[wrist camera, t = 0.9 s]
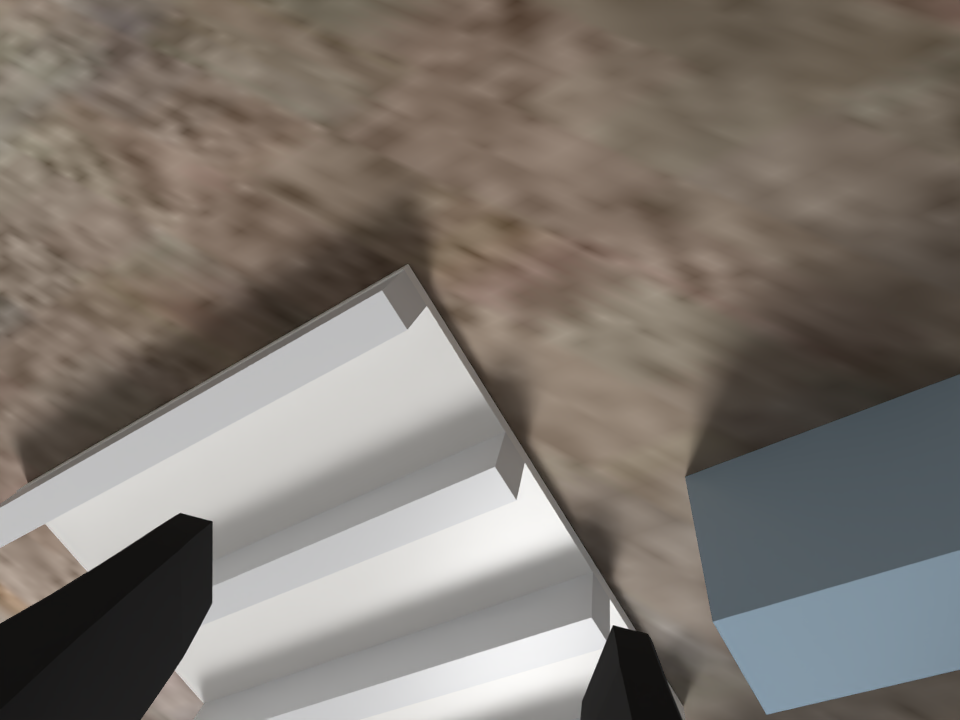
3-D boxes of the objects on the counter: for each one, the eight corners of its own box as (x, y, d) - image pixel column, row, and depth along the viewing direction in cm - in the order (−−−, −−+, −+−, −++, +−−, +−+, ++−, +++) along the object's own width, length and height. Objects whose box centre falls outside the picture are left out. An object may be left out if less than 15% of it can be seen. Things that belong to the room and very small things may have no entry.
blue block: (1008, 457, 18) (1178, 618, 13) (725, 549, 21) (766, 714, 15) (973, 367, 17) (1138, 498, 12) (685, 475, 20) (712, 621, 15)
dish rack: (683, 707, 24) (691, 773, 21) (304, 801, 30) (279, 860, 27) (408, 263, 19) (380, 288, 17) (26, 483, 25) (-31, 523, 23)
